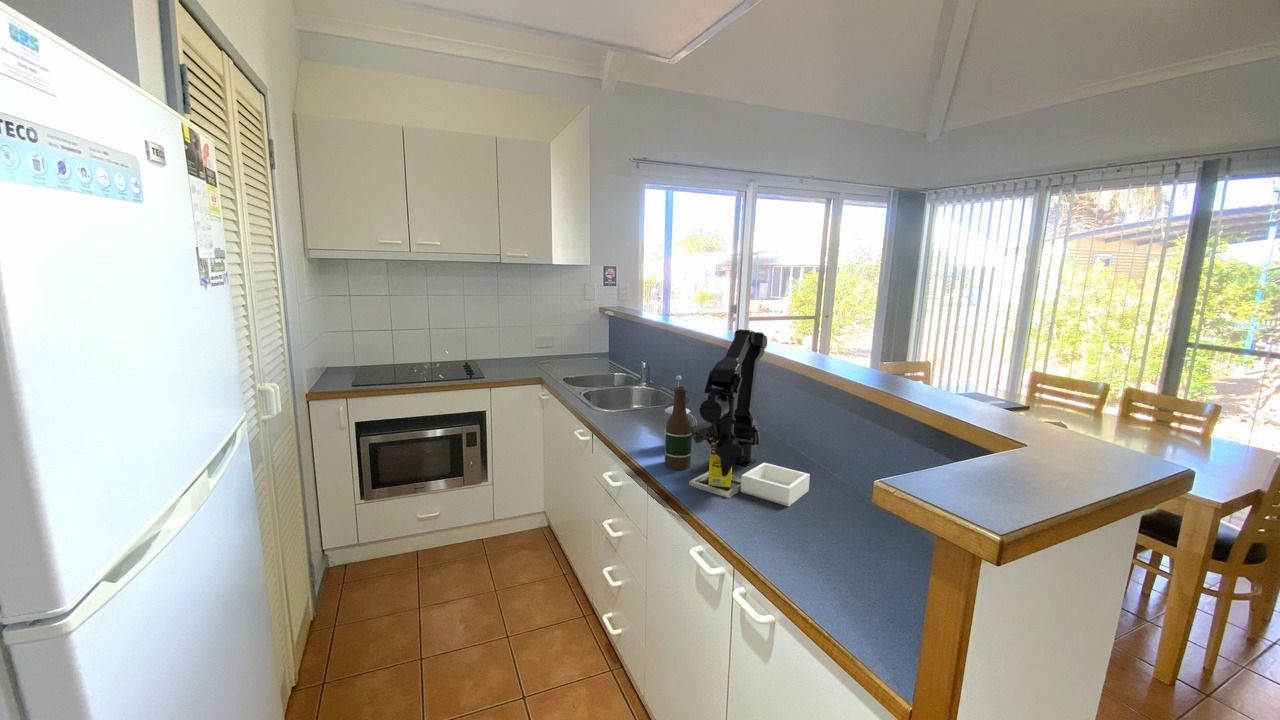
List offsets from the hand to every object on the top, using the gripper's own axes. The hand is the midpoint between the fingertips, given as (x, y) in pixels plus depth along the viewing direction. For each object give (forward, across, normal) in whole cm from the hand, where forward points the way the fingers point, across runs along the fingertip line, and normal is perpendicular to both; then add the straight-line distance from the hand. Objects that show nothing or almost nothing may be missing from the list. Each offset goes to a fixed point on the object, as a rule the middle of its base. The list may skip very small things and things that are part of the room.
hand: (720, 470), depth 136 cm
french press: (+4, -28, -6) cm, 29 cm away
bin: (+4, +5, +13) cm, 15 cm away
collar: (+4, 0, 0) cm, 4 cm away
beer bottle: (+4, -13, -9) cm, 17 cm away
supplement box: (+4, 0, 0) cm, 4 cm away
